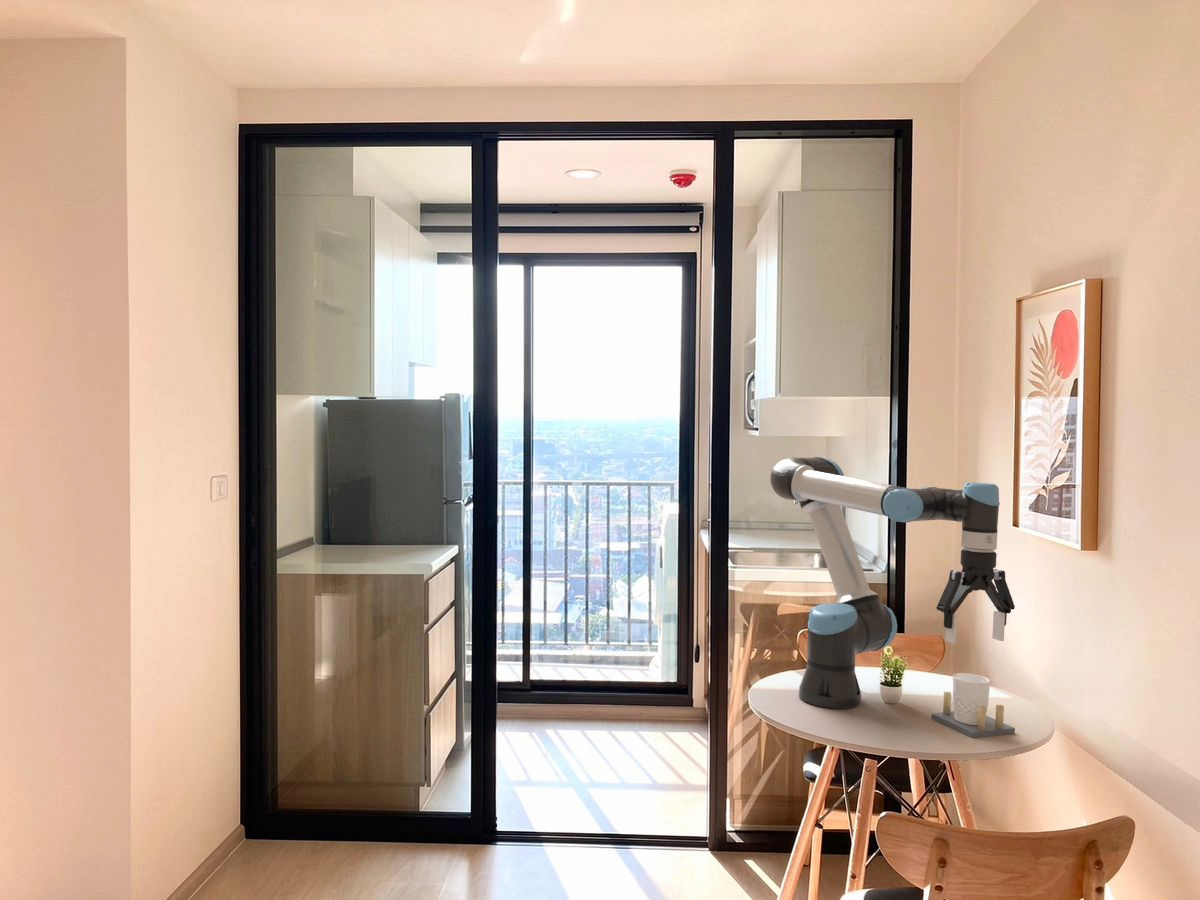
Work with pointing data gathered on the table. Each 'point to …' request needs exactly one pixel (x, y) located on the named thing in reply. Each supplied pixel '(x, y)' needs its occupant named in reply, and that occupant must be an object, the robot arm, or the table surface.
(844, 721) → the table surface
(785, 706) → the table surface
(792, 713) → the table surface
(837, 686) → the robot arm
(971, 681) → the white cup
